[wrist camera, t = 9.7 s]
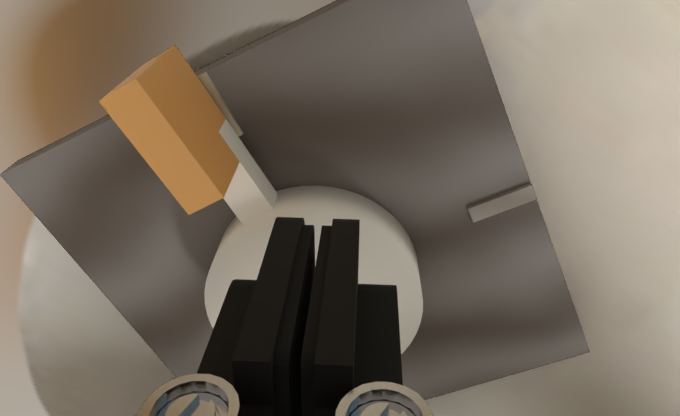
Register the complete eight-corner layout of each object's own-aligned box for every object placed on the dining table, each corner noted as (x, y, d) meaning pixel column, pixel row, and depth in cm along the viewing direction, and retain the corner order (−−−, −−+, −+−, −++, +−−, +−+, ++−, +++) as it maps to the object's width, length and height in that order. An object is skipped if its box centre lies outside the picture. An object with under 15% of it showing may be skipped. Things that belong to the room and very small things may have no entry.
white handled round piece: (450, 307, 28) (465, 377, 24) (285, 370, 31) (273, 442, 27) (265, -11, 21) (242, 14, 17) (69, 108, 24) (8, 155, 20)
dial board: (580, 332, 31) (591, 354, 30) (246, 432, 37) (242, 455, 35) (444, -54, 22) (449, -50, 20) (17, 160, 27) (-3, 176, 26)
